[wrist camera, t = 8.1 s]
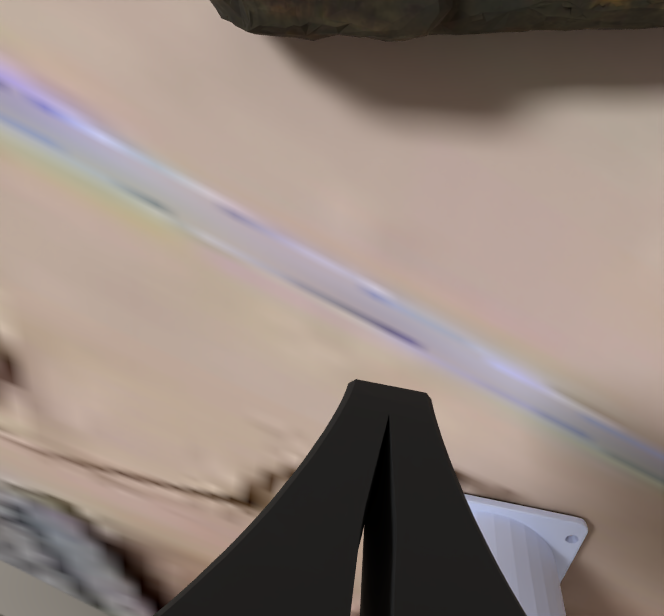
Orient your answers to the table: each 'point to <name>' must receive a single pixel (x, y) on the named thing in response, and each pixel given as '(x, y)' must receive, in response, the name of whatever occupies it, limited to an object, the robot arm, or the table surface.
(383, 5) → the hand tool
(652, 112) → the table surface
